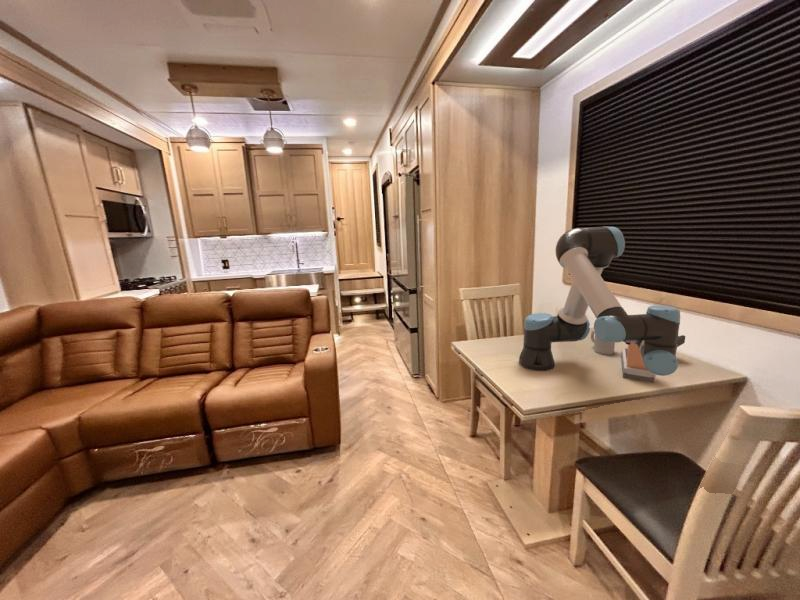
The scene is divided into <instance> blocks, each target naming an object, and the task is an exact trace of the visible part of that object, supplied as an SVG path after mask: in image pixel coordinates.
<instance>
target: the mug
mask: <svg viewBox="0 0 800 600" xmlns="http://www.w3.org/2000/svg"><path fill="white" fill-rule="evenodd" d="M590 340H591V342H592V343H593V345H594V346H593V351H594V353H597V354H601V355H614V353H615V347H616V346H615V345H616V342H603V341H601V340H600V339H598V338H597V336H596V335H595V330H594V329H593V330H592V331H591V333H590Z"/></svg>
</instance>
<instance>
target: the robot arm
mask: <svg viewBox="0 0 800 600" xmlns="http://www.w3.org/2000/svg"><path fill="white" fill-rule="evenodd" d="M625 246H626V241H625V238H624V234H623V232H622V231H621V230H620V229H619V228H618V227H615V226H605V225H603V226H597V227H596V226H595V227H576V228H572V229H569V230H567V231H566V232H564V233H563V234H562V235H561V236H560V237H559V239H558V240H557V242H556V245H555V257H556V260H557V262H558V263H559V265H560V266H561V268H564V269H566V270H567V272H568V274H569V276H570V278H571V279H572V282H571V286H570V288H569V291H568V295H567V297H566V300H565V303H564V307H562V308H560V309H559V310H558V312H557V315H556V316H553V314H551V313H547V312H543V313H542V312H537V313H536V312H535V313H532V314H528V315H527V316H526V317H525V318H524V322H523V324H524V325H523V347H522V350H521V353H520V355H519V358H518V364H519V365H520V366H521V367H523V368H525V369H527V368H528V370H530V371H531V370H532V371H538V372H541V371H542V372H544V371H551V370H552V369H554V368H555V364H556V363H555V359H554V356H553V351H552V344H553V343H564V342H565V343H567V342H569V343H570V342H573V343H574V342H579V341H583V340H585V339H586V338H587V337H588V335H589V333H590V330H591V328H590V326H591V325H590V321H589V319H588V316H587V315H586V313H587V311H588V309H589V308H590V310H591V312H592V313H593V315H594V317H595V320H594V324H593V330H595V333H594V336H595V335H596V336H597V338H598V339H600V340H601V341H603V342H615V343H621V342H624V343H625V344H626V345H627V346H628V345H630V344H631V343H636V344H637V345H638V347H639V350H640V353H641V356H642V358H643V363H644V365H645V366H646V368H647V369H648V370H649V371H650V372H652V373H653V374H654V375H656V376H662V377H663V376H664V377H665V376H670V375H672V374H674V373H675V372H676V371H677V370H678V368H679V361H678V358H677V356H676V355H677V349H678V348H679V347H680V346H682V345H683V344H685V341H686V336H685V335H683V334H681V335H679V334H678V333H679V331H680V330H679V329H680V324H681V311H680V310H679V308H677V307H675V306H670V305H661V304H660V305H659V304H656V305H651V306H650V305H649V306H648V307H647V309H646V312H645V313H643V314H640V313H639V314H628V313H627V311H626V310H625V309H624V307H623V306H622V305H621V303H620V302H619V301H618V299H617V297H616V296H615V295H614V293H613V292H612V290H611V288H610V287H609V286H608V284H607V283H606V282H605V280H604V279H603V277H602V276H601V275H602V273H603V271H604V269H606V268H608V267H610V265H611V262H612V260H613V259H617V258H619V257H620V256H621V255H623V253H624V251H625Z"/></svg>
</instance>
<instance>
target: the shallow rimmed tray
mask: <svg viewBox="0 0 800 600" xmlns="http://www.w3.org/2000/svg"><path fill="white" fill-rule="evenodd" d="M627 351H628V347H625V348H622V352H621V353H620V359H621V360H620V361H621V371H622V372H621V373H622V378H623V379H628V380H629V379H630V380H634V381H635V380H636V381H641V382H646V383H647V382H648V383H653V384H654V383H655V374H653V373H652V372H650V371H649V370H644V369H637V368H631V367H627V364H626V360H627Z"/></svg>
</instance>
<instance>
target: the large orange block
mask: <svg viewBox="0 0 800 600" xmlns="http://www.w3.org/2000/svg"><path fill="white" fill-rule="evenodd" d="M627 348H628V351H627V360H626V364H627V367H631V368H637V369H644V370H648V369H647V368H646V366H645V365H644V363H643V358H642V356H641V353H640V350H639V347H638V345H637V344H636V343H631V344H630V345H628V344H627Z"/></svg>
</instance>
